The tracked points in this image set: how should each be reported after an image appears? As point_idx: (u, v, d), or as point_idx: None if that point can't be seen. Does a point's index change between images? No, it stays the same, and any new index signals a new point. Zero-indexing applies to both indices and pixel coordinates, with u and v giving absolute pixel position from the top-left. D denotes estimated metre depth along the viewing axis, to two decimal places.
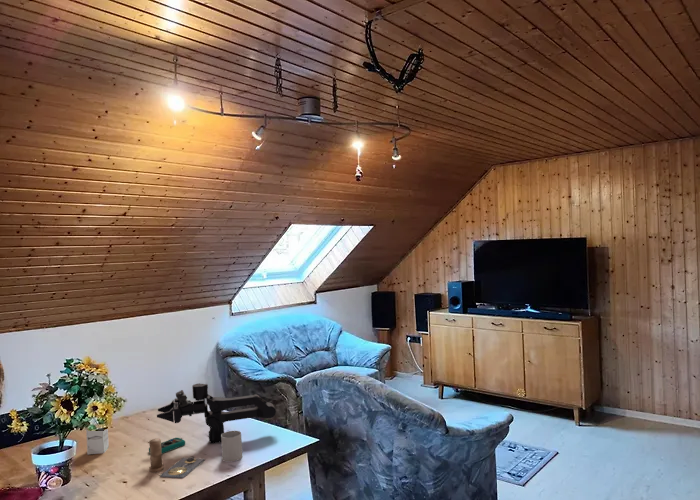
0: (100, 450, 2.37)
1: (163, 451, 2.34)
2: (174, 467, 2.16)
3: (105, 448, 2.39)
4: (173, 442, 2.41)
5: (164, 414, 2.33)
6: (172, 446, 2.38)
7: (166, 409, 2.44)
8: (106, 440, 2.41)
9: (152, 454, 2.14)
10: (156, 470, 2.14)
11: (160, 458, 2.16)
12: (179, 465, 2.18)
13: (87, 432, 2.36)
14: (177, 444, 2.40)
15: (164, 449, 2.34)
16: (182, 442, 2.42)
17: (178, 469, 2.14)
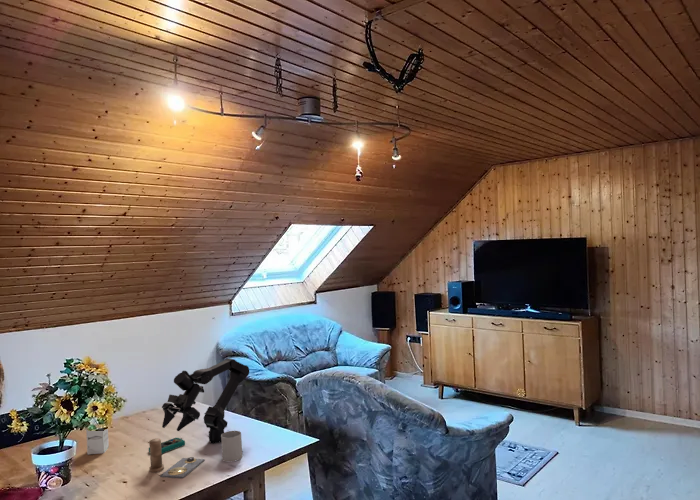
0: (100, 450, 2.37)
1: (163, 451, 2.34)
2: (174, 467, 2.16)
3: (105, 448, 2.39)
4: (173, 442, 2.41)
5: (182, 423, 2.22)
6: (172, 446, 2.38)
7: (168, 419, 2.28)
8: (106, 440, 2.41)
9: (152, 454, 2.14)
10: (156, 470, 2.14)
11: (160, 458, 2.16)
12: (179, 465, 2.18)
13: (87, 432, 2.36)
14: (177, 444, 2.39)
15: (164, 449, 2.34)
16: (182, 442, 2.41)
17: (178, 469, 2.14)
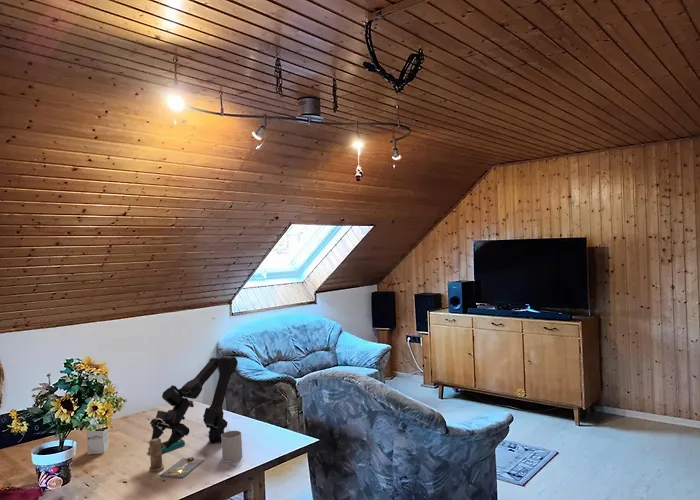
0: (100, 450, 2.37)
1: (162, 451, 2.34)
2: (174, 467, 2.16)
3: (105, 448, 2.39)
4: None
5: (171, 440, 2.17)
6: (171, 446, 2.37)
7: (156, 436, 2.23)
8: (106, 440, 2.41)
9: (152, 454, 2.14)
10: (156, 470, 2.14)
11: (160, 458, 2.16)
12: (179, 465, 2.18)
13: (87, 432, 2.36)
14: (177, 444, 2.39)
15: (163, 449, 2.34)
16: (182, 442, 2.41)
17: (178, 469, 2.14)
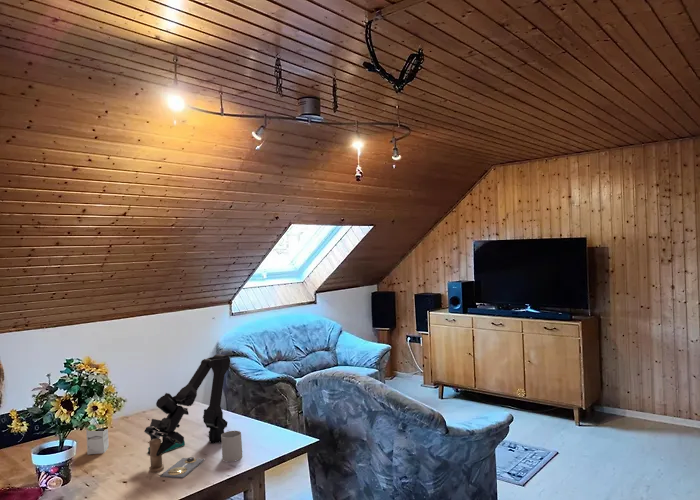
0: (100, 450, 2.37)
1: None
2: (174, 467, 2.16)
3: (105, 448, 2.39)
4: None
5: (162, 447, 2.15)
6: (171, 446, 2.37)
7: None
8: (106, 440, 2.41)
9: (152, 454, 2.14)
10: (156, 470, 2.14)
11: (160, 458, 2.16)
12: (179, 465, 2.18)
13: (87, 432, 2.36)
14: (176, 444, 2.39)
15: None
16: None
17: (178, 469, 2.14)
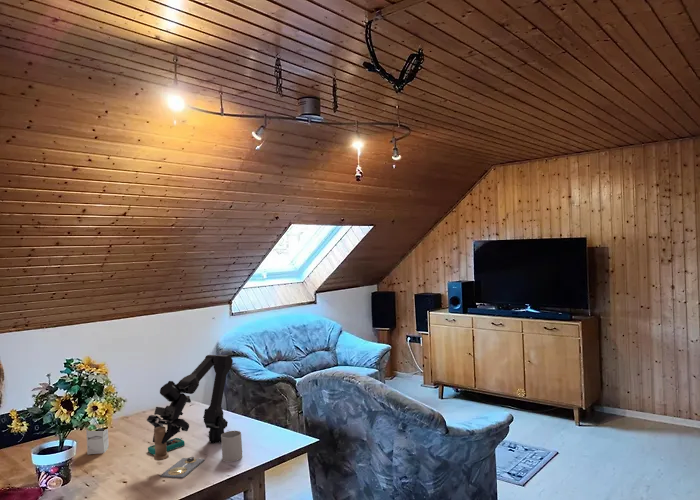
0: (100, 450, 2.37)
1: None
2: (174, 467, 2.16)
3: (105, 448, 2.39)
4: (172, 442, 2.40)
5: (167, 435, 2.14)
6: (171, 446, 2.37)
7: None
8: (106, 440, 2.41)
9: (157, 442, 2.13)
10: (161, 458, 2.13)
11: (165, 446, 2.15)
12: (179, 465, 2.18)
13: (87, 432, 2.36)
14: (176, 444, 2.39)
15: None
16: (181, 443, 2.41)
17: (178, 469, 2.14)
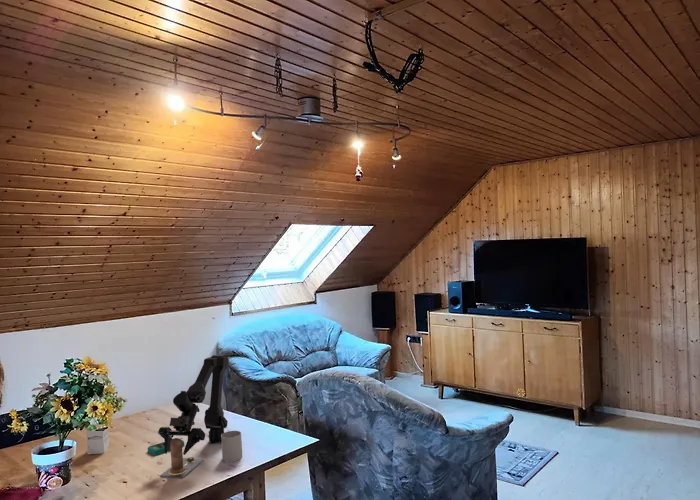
0: (100, 450, 2.37)
1: (161, 451, 2.34)
2: None
3: (105, 448, 2.39)
4: None
5: (188, 446, 2.12)
6: (170, 447, 2.37)
7: (168, 444, 2.15)
8: (106, 440, 2.41)
9: (175, 455, 2.10)
10: (179, 471, 2.10)
11: (182, 458, 2.13)
12: None
13: (87, 432, 2.36)
14: None
15: (162, 449, 2.34)
16: None
17: None
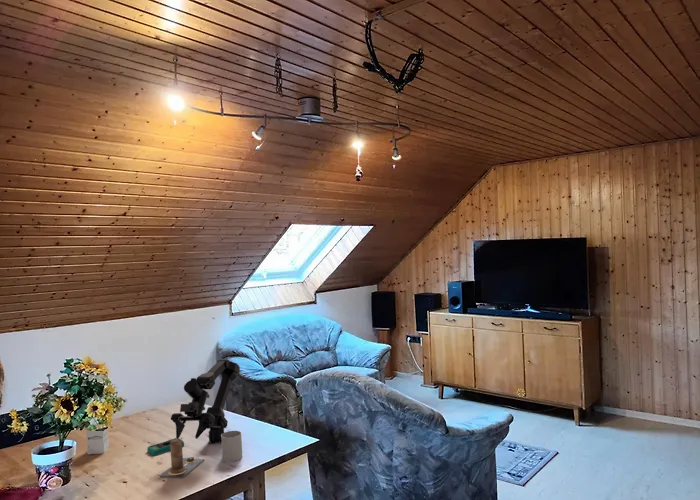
0: (100, 450, 2.37)
1: (160, 451, 2.34)
2: None
3: (105, 448, 2.39)
4: None
5: (200, 430, 2.21)
6: (170, 447, 2.37)
7: (180, 430, 2.25)
8: (106, 440, 2.41)
9: (175, 455, 2.10)
10: (179, 471, 2.10)
11: (182, 458, 2.13)
12: None
13: (87, 432, 2.36)
14: None
15: (161, 449, 2.34)
16: None
17: None
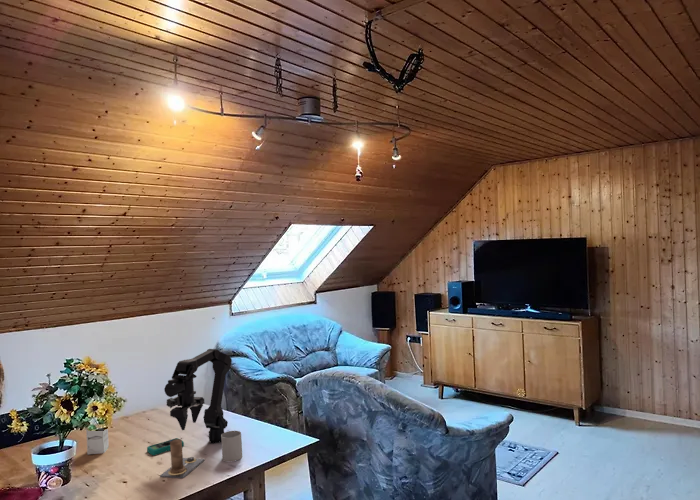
0: (100, 450, 2.37)
1: (159, 451, 2.34)
2: None
3: (105, 448, 2.39)
4: None
5: (180, 423, 2.23)
6: (169, 447, 2.37)
7: (194, 414, 2.33)
8: (106, 440, 2.41)
9: (175, 455, 2.10)
10: (179, 471, 2.10)
11: (182, 458, 2.13)
12: None
13: (87, 432, 2.36)
14: None
15: (160, 449, 2.34)
16: None
17: None
